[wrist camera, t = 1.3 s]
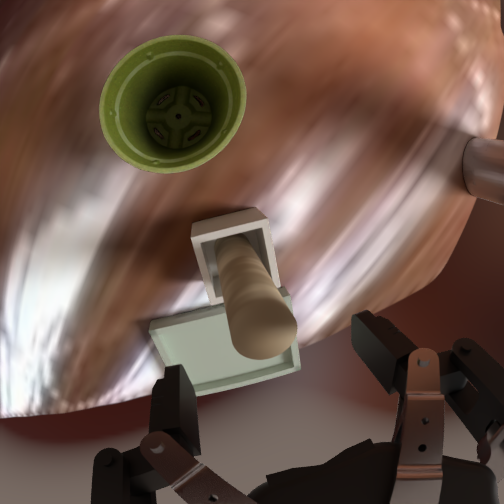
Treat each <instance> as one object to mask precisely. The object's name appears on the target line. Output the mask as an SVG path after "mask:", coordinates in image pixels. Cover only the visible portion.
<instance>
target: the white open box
mask: <svg viewBox="0 0 504 504" xmlns="http://www.w3.org/2000/svg"><path fill="white" fill-rule="evenodd" d="M237 233H243V234H244V235H245V236H246V237H247V238H248V240H249V242H250V243H251V245H252V247H253V249H254V250H255V252H256V254H257V255H258V257H259V259H260V260H261V262H262V264H263V265H264V267H265V269H266V270H267V272H268V274H269V275H270V277H271V279H272V281H273V282H274V284H275V286H276V287H277V288H279V287H281V286H280V280H279V274H278V269H277V263H276V258H275V252H274V247H273V242H272V236H271V231H270V226H269V220H268V218H267V217H266V216H265V215H264V214H263V213H262V212H261V211H259V210H258V209H257V208H256V207H255V208H250V209H246V210H242V211H238V212H234V213H230V214H226V215H222V216H218V217H214V218H210V219H206V220H202V221H198V222H194V223H192V229H191V241H192V244H193V248H194V251H195V255H196V258H197V261H198V265H199V268H200V272H201V275H202V278H203V282H204V285H205V288H206V291H207V295H208V298H209V301H210V304H211V305H215V304H219V303H223V302H224V300H223V295H222V290H221V284H220V279H219V274H218V268H217V262H216V257H215V251H214V245H215V242H216V240H217V239H218V238H221V237H225V236H229V235H233V234H237Z"/></svg>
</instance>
